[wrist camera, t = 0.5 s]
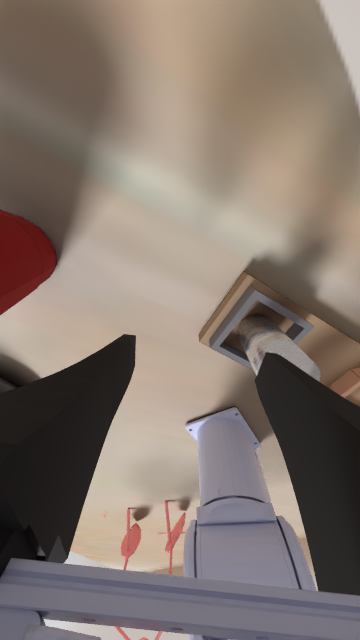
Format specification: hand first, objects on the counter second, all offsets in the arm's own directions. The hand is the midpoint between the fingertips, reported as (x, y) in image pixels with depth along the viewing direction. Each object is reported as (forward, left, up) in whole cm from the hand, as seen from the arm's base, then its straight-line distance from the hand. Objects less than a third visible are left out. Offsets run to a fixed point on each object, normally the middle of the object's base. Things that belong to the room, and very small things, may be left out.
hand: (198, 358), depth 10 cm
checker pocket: (-5, -4, -8) cm, 10 cm away
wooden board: (-12, -8, -10) cm, 17 cm away
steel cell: (-5, -4, -8) cm, 10 cm away
